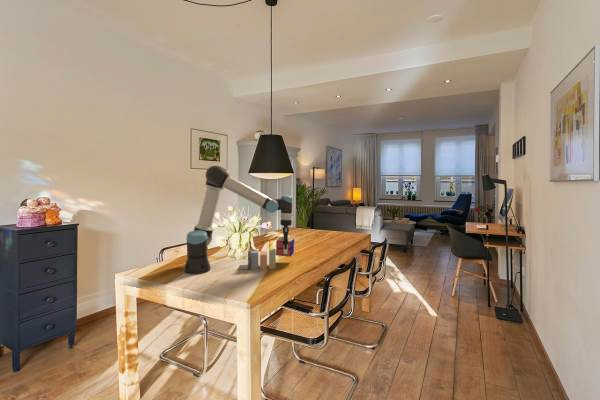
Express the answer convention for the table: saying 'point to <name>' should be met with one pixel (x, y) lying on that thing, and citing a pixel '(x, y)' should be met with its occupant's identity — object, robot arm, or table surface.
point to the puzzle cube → (280, 247)
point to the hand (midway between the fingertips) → (285, 251)
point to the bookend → (248, 267)
